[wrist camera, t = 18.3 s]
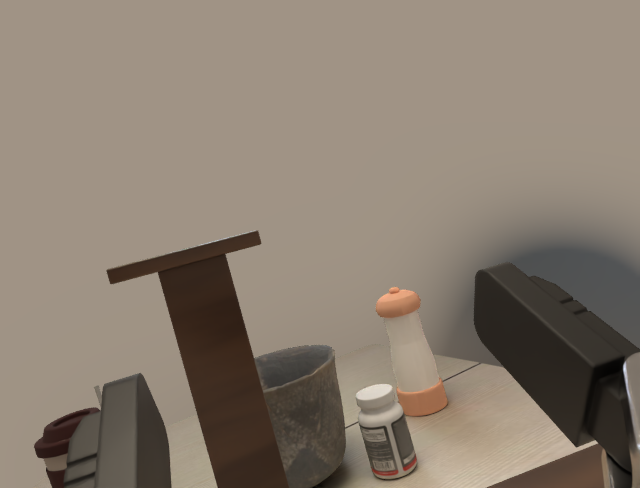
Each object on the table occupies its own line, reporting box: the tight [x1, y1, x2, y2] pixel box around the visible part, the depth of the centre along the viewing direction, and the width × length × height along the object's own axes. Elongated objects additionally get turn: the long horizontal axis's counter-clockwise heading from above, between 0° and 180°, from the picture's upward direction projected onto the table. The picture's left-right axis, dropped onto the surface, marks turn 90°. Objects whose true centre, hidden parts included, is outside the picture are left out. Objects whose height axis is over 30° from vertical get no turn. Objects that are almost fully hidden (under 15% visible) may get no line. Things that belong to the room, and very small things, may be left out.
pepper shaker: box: [376, 287, 448, 416], centre depth 78 cm, size 7×7×19 cm
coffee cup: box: [34, 408, 100, 488], centre depth 68 cm, size 10×10×15 cm
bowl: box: [254, 345, 346, 488], centre depth 67 cm, size 18×18×15 cm
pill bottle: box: [356, 384, 417, 479], centre depth 62 cm, size 6×6×10 cm
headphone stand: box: [107, 230, 605, 488], centre depth 43 cm, size 13×41×32 cm, turn 101°
